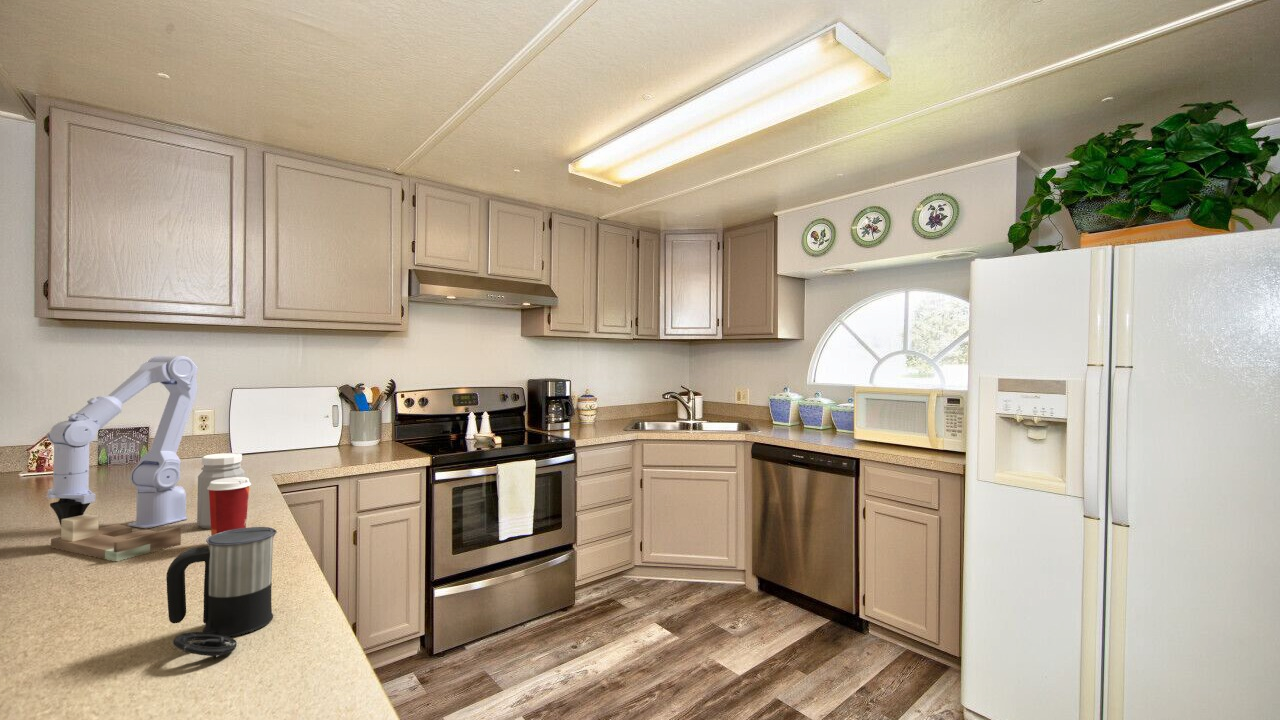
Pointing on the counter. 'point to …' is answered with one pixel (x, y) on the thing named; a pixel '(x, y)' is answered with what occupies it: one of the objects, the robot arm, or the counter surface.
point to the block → (79, 527)
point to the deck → (121, 542)
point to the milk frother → (225, 588)
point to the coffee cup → (228, 503)
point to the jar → (213, 470)
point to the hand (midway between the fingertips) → (70, 531)
